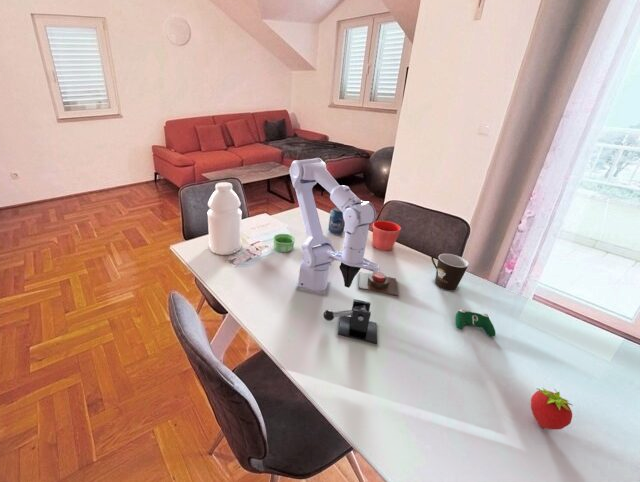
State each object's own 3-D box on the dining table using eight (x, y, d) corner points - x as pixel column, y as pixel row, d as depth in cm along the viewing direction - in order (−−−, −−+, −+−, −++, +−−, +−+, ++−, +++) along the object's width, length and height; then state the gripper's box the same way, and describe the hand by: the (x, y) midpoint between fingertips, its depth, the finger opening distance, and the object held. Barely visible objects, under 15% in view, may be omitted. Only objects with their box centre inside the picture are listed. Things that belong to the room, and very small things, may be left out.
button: (373, 281, 106) (373, 276, 105) (372, 275, 109) (373, 271, 108) (384, 283, 105) (385, 278, 104) (384, 277, 108) (384, 273, 107)
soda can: (328, 235, 143) (331, 210, 139) (327, 228, 150) (330, 205, 145) (344, 236, 142) (347, 211, 138) (342, 229, 149) (345, 206, 144)
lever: (324, 323, 90) (321, 315, 89) (326, 316, 92) (322, 308, 91) (367, 318, 84) (364, 309, 83) (367, 311, 87) (364, 302, 86)
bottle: (227, 236, 142) (226, 177, 131) (248, 247, 133) (249, 184, 122) (202, 246, 134) (198, 184, 122) (223, 259, 124) (221, 192, 113)
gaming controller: (490, 337, 88) (489, 315, 91) (496, 336, 85) (495, 314, 87) (452, 329, 91) (452, 309, 93) (457, 328, 88) (457, 307, 90)
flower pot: (401, 252, 129) (406, 231, 125) (374, 252, 129) (378, 231, 125) (390, 240, 138) (394, 220, 135) (365, 240, 139) (368, 220, 135)
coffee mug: (464, 294, 104) (473, 268, 100) (436, 291, 105) (444, 265, 101) (450, 274, 114) (458, 250, 110) (424, 272, 116) (431, 248, 112)
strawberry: (521, 430, 63) (539, 396, 59) (522, 403, 68) (539, 371, 64) (561, 451, 60) (584, 416, 56) (559, 421, 65) (580, 388, 61)
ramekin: (273, 242, 137) (273, 233, 135) (294, 243, 136) (294, 234, 134) (272, 252, 129) (272, 242, 127) (294, 253, 128) (295, 244, 126)
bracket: (337, 336, 87) (341, 311, 83) (339, 317, 94) (343, 293, 90) (376, 346, 83) (382, 320, 80) (375, 325, 90) (381, 301, 87)
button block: (358, 290, 106) (359, 282, 104) (359, 274, 114) (360, 267, 113) (397, 298, 102) (399, 290, 101) (395, 281, 110) (396, 274, 109)
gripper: (385, 246, 86) (377, 287, 91) (334, 232, 93) (329, 271, 99) (379, 257, 80) (370, 300, 86) (325, 241, 88) (320, 281, 93)
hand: (347, 285), depth 92 cm, fingers closed
